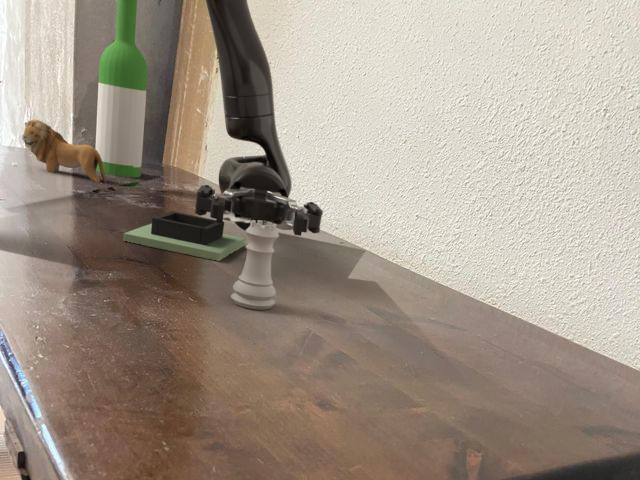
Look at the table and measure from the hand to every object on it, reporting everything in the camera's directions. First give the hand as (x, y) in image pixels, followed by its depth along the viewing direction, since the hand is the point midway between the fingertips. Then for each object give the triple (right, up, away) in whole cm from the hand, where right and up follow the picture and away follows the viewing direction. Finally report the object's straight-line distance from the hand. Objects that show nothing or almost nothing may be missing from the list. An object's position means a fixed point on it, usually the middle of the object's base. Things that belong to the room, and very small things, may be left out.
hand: (260, 219), depth 80 cm
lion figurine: (-34, +16, +38) cm, 54 cm away
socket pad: (-11, +1, +15) cm, 18 cm away
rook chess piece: (0, -10, -5) cm, 11 cm away
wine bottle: (-29, +20, +50) cm, 61 cm away
